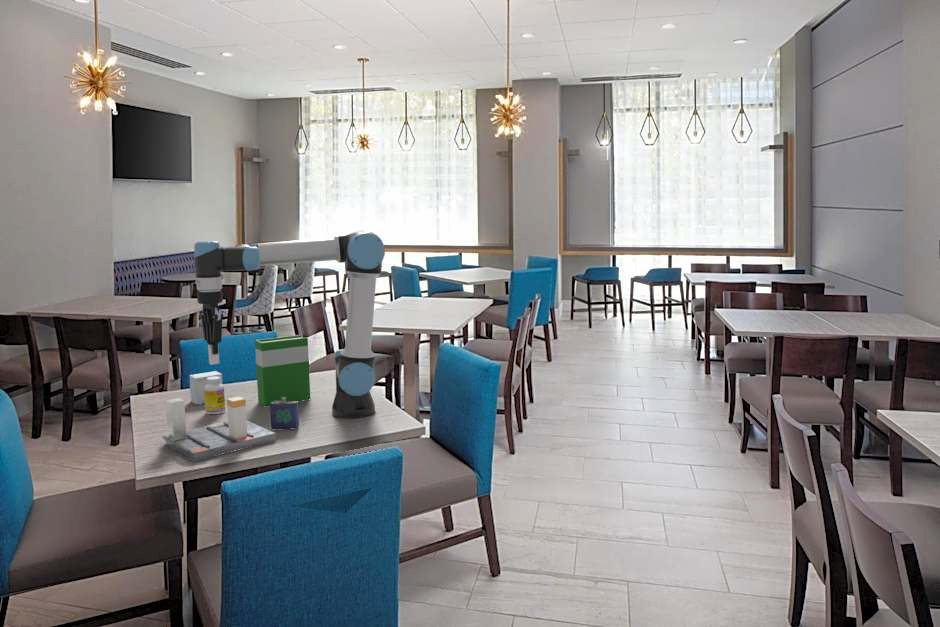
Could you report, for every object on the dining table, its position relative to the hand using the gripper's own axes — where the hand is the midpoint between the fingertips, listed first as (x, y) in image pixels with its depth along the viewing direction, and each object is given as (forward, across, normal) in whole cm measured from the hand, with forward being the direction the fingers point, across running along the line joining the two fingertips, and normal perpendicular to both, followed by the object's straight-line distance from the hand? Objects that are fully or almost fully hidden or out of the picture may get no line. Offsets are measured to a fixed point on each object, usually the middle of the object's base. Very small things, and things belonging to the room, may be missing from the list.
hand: (214, 363), depth 234 cm
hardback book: (+24, -22, +35) cm, 48 cm away
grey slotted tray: (+24, +8, -3) cm, 25 cm away
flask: (+24, +9, +19) cm, 32 cm away
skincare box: (+24, -43, +14) cm, 51 cm away
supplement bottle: (+24, -25, +10) cm, 36 cm away
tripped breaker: (+21, +14, 0) cm, 25 cm away
